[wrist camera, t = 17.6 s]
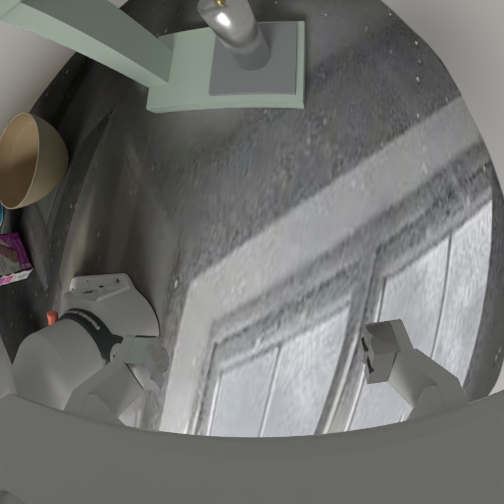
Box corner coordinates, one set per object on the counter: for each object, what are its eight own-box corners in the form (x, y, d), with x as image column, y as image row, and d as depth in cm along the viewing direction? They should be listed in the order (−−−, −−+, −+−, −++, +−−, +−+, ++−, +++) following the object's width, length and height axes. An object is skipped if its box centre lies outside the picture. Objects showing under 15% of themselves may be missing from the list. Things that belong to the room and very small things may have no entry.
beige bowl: (77, 212, 51) (30, 217, 40) (30, 198, 55) (-11, 201, 43) (93, 120, 47) (47, 109, 36) (43, 121, 51) (3, 115, 39)
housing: (234, 71, 36) (186, 13, 21) (237, 43, 36) (193, -20, 20) (269, 70, 35) (236, 5, 20) (271, 41, 34) (241, -28, 19)
